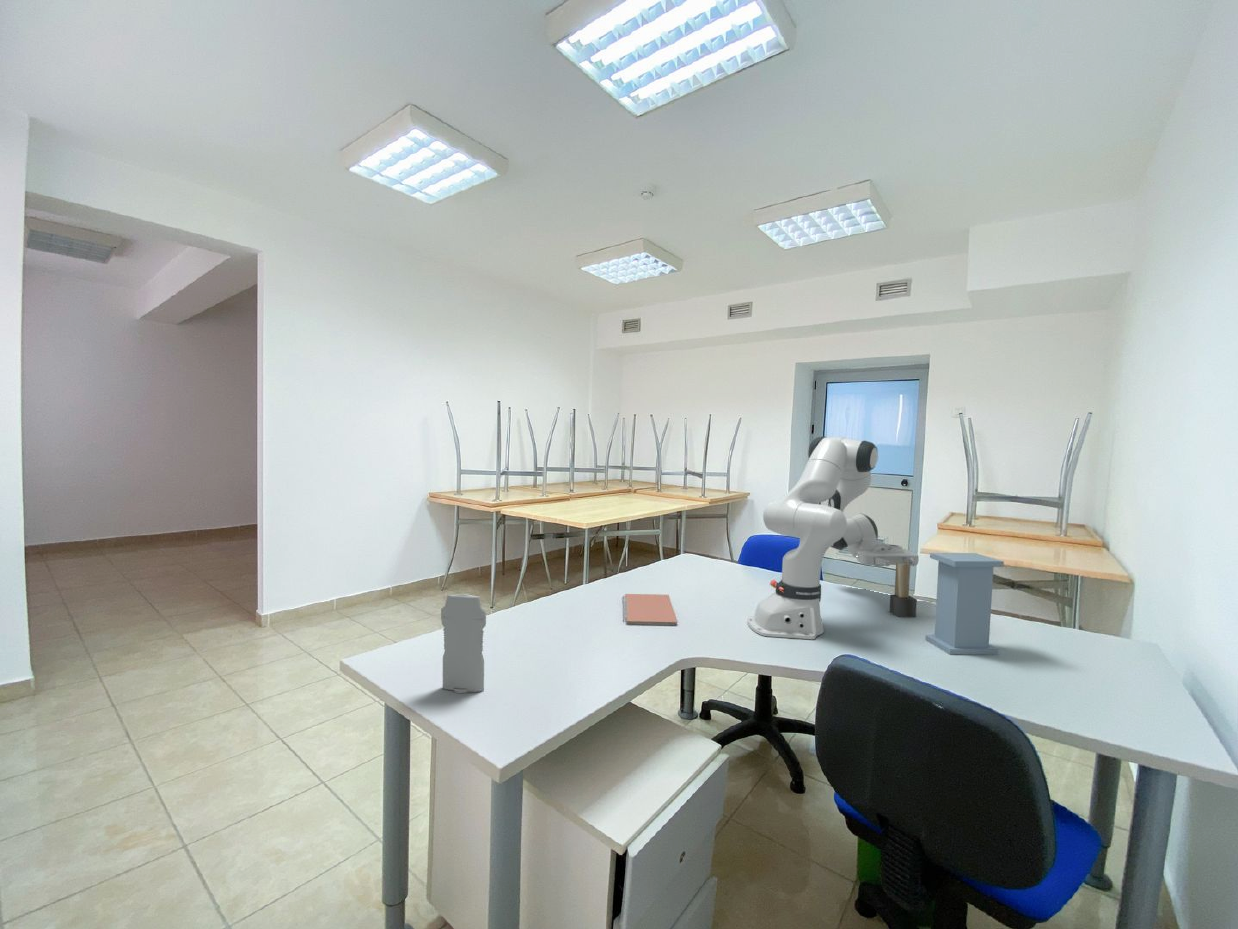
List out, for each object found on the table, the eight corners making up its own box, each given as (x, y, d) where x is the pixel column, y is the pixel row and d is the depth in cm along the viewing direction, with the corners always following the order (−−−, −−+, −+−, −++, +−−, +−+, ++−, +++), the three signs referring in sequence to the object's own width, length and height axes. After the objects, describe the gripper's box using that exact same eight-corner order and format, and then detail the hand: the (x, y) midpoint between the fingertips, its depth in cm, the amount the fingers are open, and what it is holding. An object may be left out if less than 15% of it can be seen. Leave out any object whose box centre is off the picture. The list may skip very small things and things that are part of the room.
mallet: (889, 611, 172) (898, 617, 167) (891, 562, 171) (901, 566, 166) (906, 611, 173) (915, 617, 168) (908, 563, 172) (918, 566, 167)
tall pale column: (489, 686, 116) (489, 592, 115) (482, 695, 112) (482, 597, 110) (445, 682, 117) (445, 589, 116) (436, 691, 113) (436, 595, 112)
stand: (949, 654, 138) (955, 561, 137) (925, 640, 148) (930, 552, 147) (998, 654, 139) (1003, 561, 138) (970, 639, 149) (975, 553, 148)
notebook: (622, 598, 182) (622, 593, 182) (668, 599, 183) (668, 594, 182) (623, 626, 155) (623, 620, 155) (677, 627, 155) (677, 621, 155)
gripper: (850, 545, 185) (871, 554, 171) (904, 545, 186) (929, 554, 172) (849, 562, 185) (870, 572, 171) (903, 562, 186) (928, 572, 172)
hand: (900, 563), depth 172 cm, fingers open, 8 cm apart
